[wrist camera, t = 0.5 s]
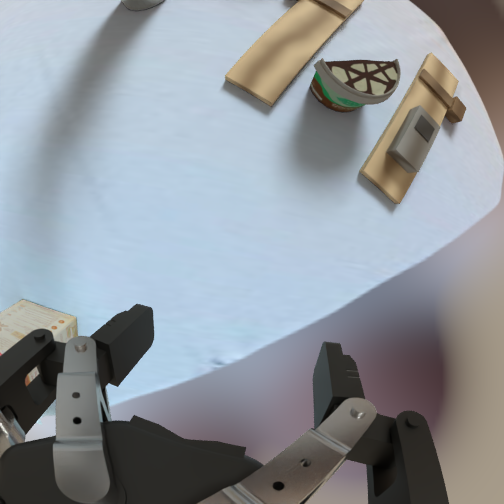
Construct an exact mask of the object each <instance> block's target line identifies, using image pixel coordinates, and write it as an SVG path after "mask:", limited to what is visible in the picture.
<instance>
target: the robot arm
mask: <svg viewBox="0 0 504 504" xmlns="http://www.w3.org/2000/svg"><path fill="white" fill-rule="evenodd" d="M121 1H122V2H123V3H124V5H125V6H126V8H128V9H129V10H135V11H138V10H144V9H148V8H151V7H153V6H155V5H157V4H159V3H161V2H162V1H164V0H121ZM153 340H154V323H153V310H152V308H151V307H148V306H144V305H140V304H136V305H134V306H133V307H132V308H131V309H130V310H129V311H124V312H121V313H119V314H117V315H115V316H114V317H113V318H112V319H111V320H109V321H108V322H107V323H106V325H105V324H104V325H103V326H102V327H101V328H100V329H98V330H97V331H96V332H95V333H94V334H92V335H91V336H90V337H87V336H77V337H74V338H72V339H70V340H69V341H68V342H67V343H63V342H58V341H54V337H53V333H52V332H51V331H50V330H48V329H36V330H33V331H31V332H30V333H29V334H27V335H26V336H25V337H24V338H22V339H21V340H20V341H18V342H17V343H16V344H15V345H13V346H12V347H11V348H9V349H8V350H7V351H6V352H4V353H3V354H2V355H1V356H0V504H306V503H307V502H308V501H309V500H310V499H311V498H312V497H313V496H314V495H315V494H316V493H317V492H318V490H319V489H320V488H321V487H322V486H323V485H324V484H325V483H326V482H327V481H328V480H329V479H330V478H331V477H332V476H333V475H334V473H335V472H336V471H337V470H338V469H339V468H340V467H341V466H342V464H343V463H344V462H345V461H346V460H347V459H348V460H351V461H356V462H359V463H363V464H366V466H367V480H368V481H367V482H368V504H449V502H448V497H447V492H446V487H445V483H444V479H443V475H442V471H441V467H440V463H439V460H438V456H437V453H436V449H435V446H434V443H433V439H432V436H431V433H430V430H429V427H428V424H427V421H426V420H425V418H424V417H423V416H422V415H421V414H419V413H417V412H414V411H404V412H402V413H400V414H399V415H398V416H397V418H396V419H395V418H391V417H387V416H383V415H380V414H378V413H377V412H376V409H375V407H374V405H373V404H372V403H370V402H369V401H367V400H365V396H364V393H363V388H362V385H361V381H360V378H359V373H358V369H357V366H356V362H355V361H354V360H353V359H352V358H351V357H350V355H343V353H342V348H341V345H340V343H332V342H323V344H322V347H321V350H320V353H319V357H318V360H317V363H316V366H315V369H314V374H313V396H314V429H313V428H311V429H309V430H308V431H307V432H306V433H304V434H303V435H302V436H301V437H300V438H298V439H297V440H296V441H295V442H294V443H292V444H291V445H290V446H289V447H287V448H286V449H285V450H284V451H282V452H281V453H280V454H279V455H277V456H276V457H275V458H273V459H272V460H271V461H269V462H268V463H267V464H266V465H263V464H261V463H260V462H258V461H257V460H255V459H253V458H251V457H248V456H246V455H245V450H246V447H241V446H236V445H231V444H226V443H222V442H218V441H202V440H188V439H184V438H181V437H179V436H178V435H176V434H174V433H173V432H171V431H169V430H167V429H166V428H164V427H162V426H161V425H159V424H156V423H153V422H151V421H148V420H145V419H143V418H140V417H137V416H135V415H134V416H133V418H132V419H131V420H130V422H129V421H112V420H111V414H110V408H109V402H108V395H107V389H106V385H107V384H108V383H110V384H112V385H115V386H117V387H118V386H119V385H120V383H121V382H122V381H123V380H124V378H125V377H126V376H127V375H128V374H129V372H130V371H131V370H132V369H133V367H134V366H135V365H136V364H137V363H138V361H139V360H140V359H141V358H142V357H143V355H144V354H145V353H146V352H147V351H148V349H149V348H150V347H151V345H152V343H153ZM35 367H37V370H38V372H39V374H38V375H37V376H36V377H35V378H34V379H33V380H32V381H31V382H30V383H29V384H28V385H27V386H26V384H25V379H26V376H27V375H28V374H29V373H30V372H31V371H32V370H33V369H34V368H35ZM55 399H56V436H52V437H48V438H43V439H38V440H33V441H28V442H25V435H26V434H27V432H28V431H29V430H30V429H31V428H32V426H33V425H34V424H35V423H36V422H37V420H38V419H39V418H40V417H41V416H42V414H43V413H44V412H45V411H46V410H47V408H48V407H49V406H50V405H51V404H52V403H53V401H54V400H55Z"/></svg>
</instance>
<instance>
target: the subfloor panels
mask: <svg viewBox="0 0 504 504" xmlns="http://www.w3.org/2000/svg"><path fill="white" fill-rule="evenodd" d="M297 1H299V2H297V3H296V4H295V5H294V6H293V7H292V8H290V9H289V10H288V11H287V12H286V13H285V14H284V15H283V16H282V17H281V18H279V19H278V20H277V21H276V22H275V23H274V24H273V25H272V26H271V27H270V28H269V29H268V30H267V31H266V32H265V33H264V34H263V35H262V36H261V37H260V38H259V39H258V40H257V41H256V42H255V43H254V44H253V45H252V46H251V47H250V48H249V49H248V50H247V52H246V53H245V54H244V55H243V56H242V57H241V58H240V59H239V60H238V61H237V63H236V64H235V65H234V66H233V67H232V68H231V69H230V70H229V72H228V73H227V74H226V75H225V80H227V81H229V82H230V83H232V84H234V85H236V86H238V87H239V88H241V89H243V90H245V91H246V92H248V93H250V94H251V95H253V96H255V97H256V98H258V99H260V100H261V101H263V102H265V103H266V104H268V105H269V106H271V107H272V105H273V104H274V103H275V101H276V100H277V99H278V98H279V96H280V95H281V94H282V93H283V91H284V90H285V89H286V88H287V86H288V85H289V84H290V83H291V81H292V80H293V79H294V78H295V76H296V75H297V74H298V73H299V72H300V70H301V69H302V68H303V67H304V66H305V64H306V63H307V62H308V61H309V60H310V59H311V57H312V56H313V55H314V54H315V53H316V52H317V51H318V49H319V48H320V47H321V46H322V45H323V44H324V43H325V42H326V40H327V39H328V38H329V37H330V36H331V35H332V34H333V33H334V32H335V31H336V29H337V28H338V27H339V26H340V25H341V24H342V23H343V22H344V21H345V20H346V19H347V18H348V17H349V16H350V15H351V14H352V13H353V12H354V11H355V10H356V8H357V7H358V6H359V5H360V4H361V3H362V2H363V1H364V0H297ZM458 82H459V81H458V80H457V79H456V78H455V77H454V76H453V74H452V73H451V72H450V71H449V70H448V69H447V68H446V67H445V66H444V65H443V64H442V63H441V62H440V61H439V60H438V59H437V58H436V57H435V56H434V55H433V54H432V53H429V54H428V55H427V56H426V58H425V60H424V62H423V64H422V65H421V67H420V69H419V71H418V73H417V75H416V76H415V78H414V80H413V82H412V84H411V85H410V87H409V89H408V91H407V93H406V94H405V96H404V98H403V100H402V101H401V103H400V105H399V107H398V108H397V110H396V112H395V113H394V115H393V117H392V119H391V120H390V122H389V124H388V125H387V127H386V129H385V130H384V132H383V134H382V135H381V137H380V139H379V140H378V142H377V144H376V145H375V147H374V148H373V150H372V152H371V153H370V155H369V156H368V158H367V160H366V161H365V163H364V164H363V166H362V168H361V169H360V171H359V172H361V173H362V174H363V175H364V176H365V177H366V178H368V179H369V180H370V181H371V182H372V183H373V184H374V185H375V186H377V187H378V188H379V189H380V190H381V191H382V192H383V193H384V194H385V195H386V196H388V197H389V198H390V199H391V200H392V201H393V202H394V203H396V204H400V202H401V201H402V199H403V197H404V195H405V194H406V192H407V190H408V188H409V187H410V185H411V183H412V181H413V179H414V177H415V176H416V174H417V172H419V170H420V168H421V166H422V164H423V162H424V160H425V158H426V156H427V154H428V152H429V150H430V148H431V146H432V144H433V142H434V140H435V138H436V136H437V134H438V131H439V129H440V125H441V123H442V121H443V118H444V116H446V117H447V119H448V120H449V121H450V122H451V123H456V122H460V121H462V119H463V116H464V113H465V110H466V107H465V106H464V104H463V103H462V102H461V101H460V100H459V98H458V97H457V96H456V97H454V98H452V97H453V94H454V92H455V89H456V87H457V84H458Z"/></svg>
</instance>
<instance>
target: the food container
mask: <svg viewBox="0 0 504 504" xmlns="http://www.w3.org/2000/svg"><path fill="white" fill-rule="evenodd" d="M314 67H315V69H316V72H315V75H314V77H313V80H312V82H311V84H310V89H311V91H312V93H313V94H314V96H315V97H316V98H317V99H318V101H319V102H321V103H322V104H323V105H325V106H326V107H328V108H330V109H332V110H334V111H338V112H350V111H353V110H355V109H357V108H359V107H362V106H364V105H366V104H378V103H381V102H384V101H385V100H387V99H388V98H389V97H390V96H391V95H392V94H393V92H394V91H395V90H396V88H397V86H398V84H399V80H400V66H399V62H398V59H396V60H394V61H393V62H390V61H387V62H384V61H371V60H350V61H331V62H325V61H324V59H323V58H322V59H321V60H319V61H318V62H317V63H316V64H315V65H314Z"/></svg>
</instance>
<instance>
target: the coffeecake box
mask: <svg viewBox="0 0 504 504" xmlns="http://www.w3.org/2000/svg"><path fill="white" fill-rule="evenodd" d="M36 329H48V330H50V331H51V332H52V333H53V337H54V341H58V342H63V343H67V342H68V341H69V340H70V339H72V338H74V337H77V336H78V332H77V320H76V317H74V316H71V315H68V314H64V313H61V312H58V311H55V310H52V309H49V308H46V307H43V306H40V305H37V304H35V303H32V302H29V301H26V300H24V299H22V300H21V301H19V302H18V303H16V304H14V305H13V306H11V307H9V308H8V309H6V310H4V311H3V312H1V313H0V356H1V355H2V354H3V353H4V352H6V351H7V350H8V349H9V348H11V347H12V346H13V345H15V344H16V343H17V342H18V341H20V340H21V339H22V338H24V337H25V336H26V335H27V334H29V333H30V332H31V331H33V330H36ZM38 374H39V372H38V370H37V367H35V368H34V369H33V370H32V371H31V372H30V373H29V374H28V375H27V376H26V379H25V384H26V386H27V385H28V384H29V383H30V382H31V381H32V380H33V379H34V378H35V377H36V376H37V375H38Z"/></svg>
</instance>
